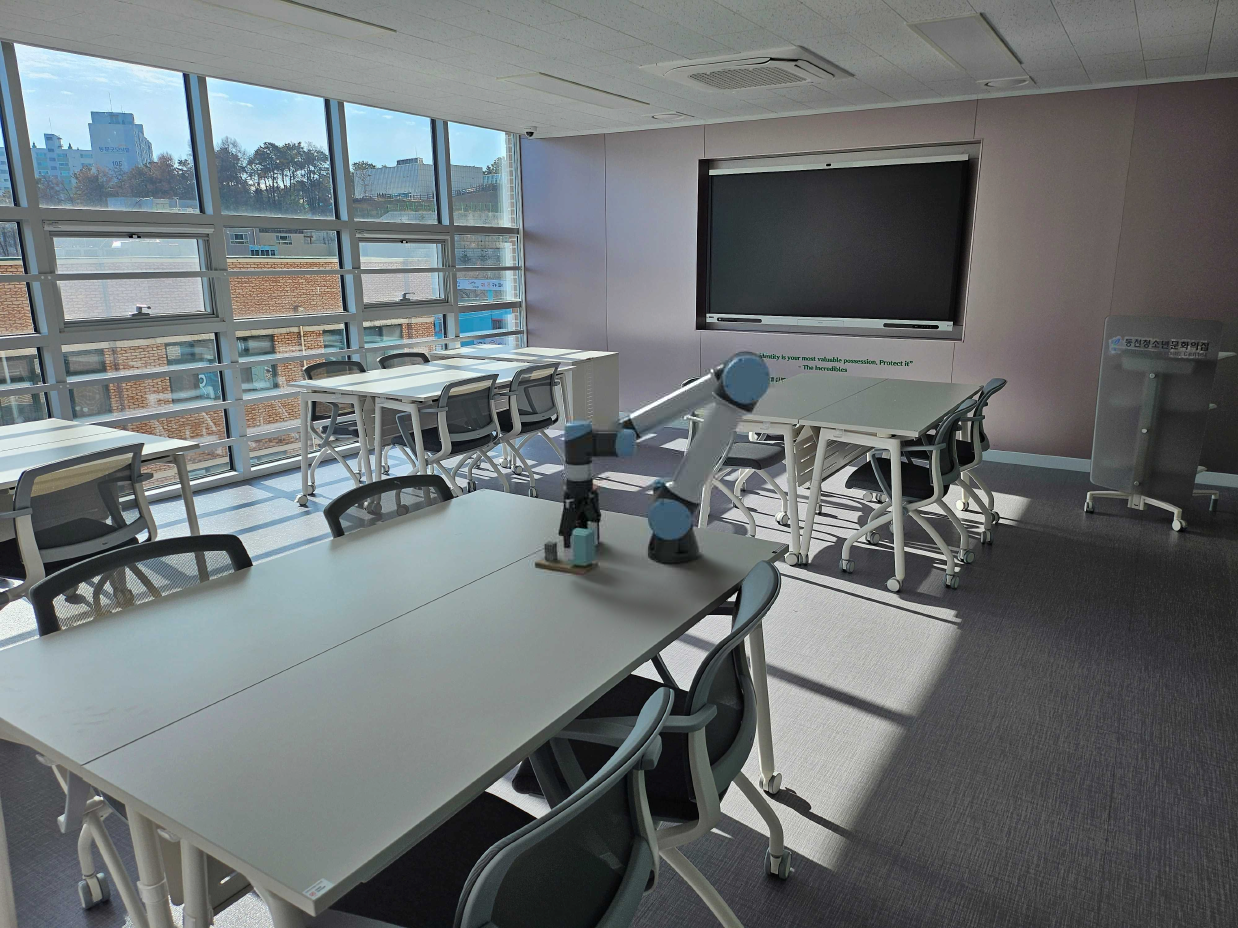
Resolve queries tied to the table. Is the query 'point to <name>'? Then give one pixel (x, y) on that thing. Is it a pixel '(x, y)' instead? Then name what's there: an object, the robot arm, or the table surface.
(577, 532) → the teal rectangular block
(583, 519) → the coffee jar
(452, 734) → the table surface
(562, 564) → the stand
